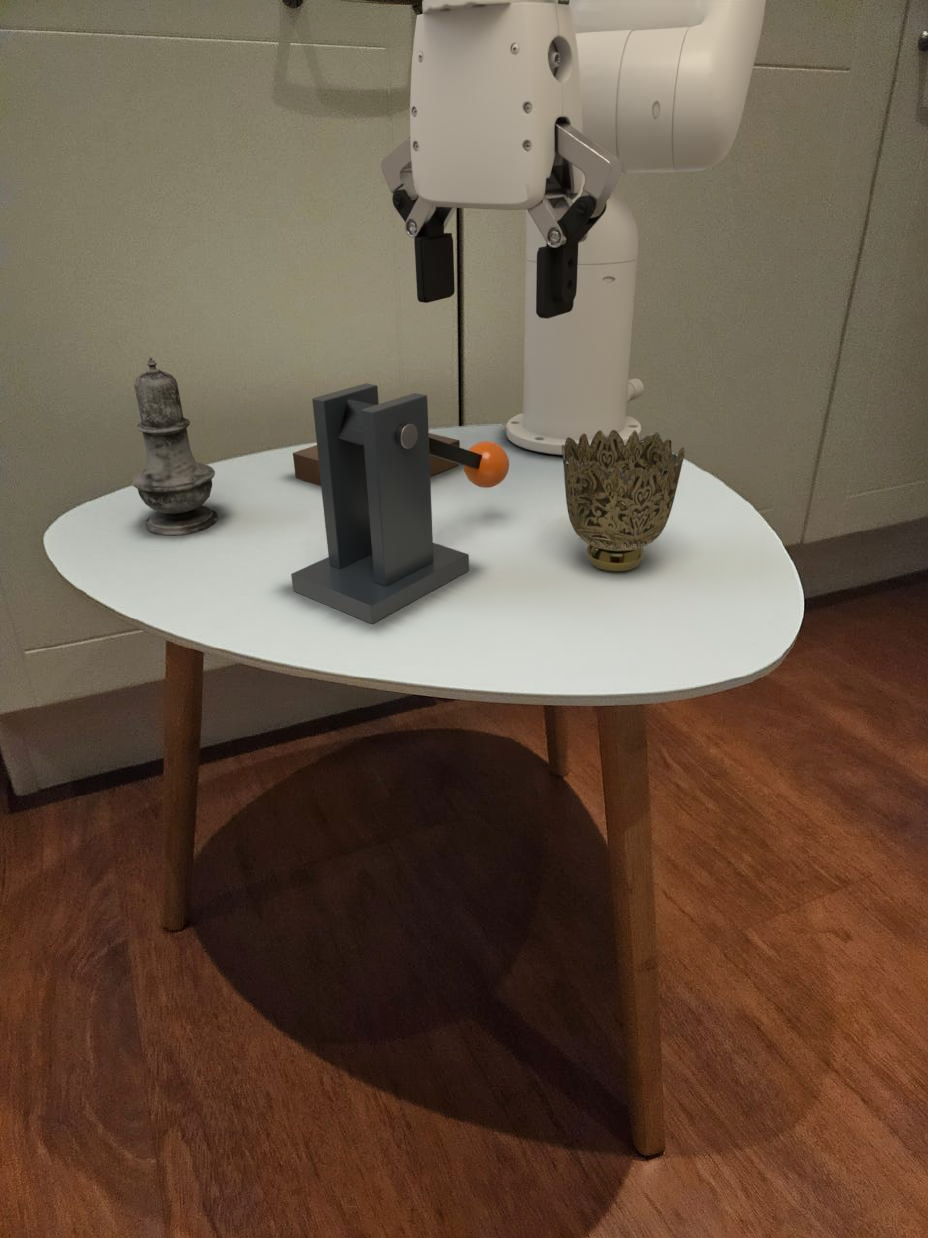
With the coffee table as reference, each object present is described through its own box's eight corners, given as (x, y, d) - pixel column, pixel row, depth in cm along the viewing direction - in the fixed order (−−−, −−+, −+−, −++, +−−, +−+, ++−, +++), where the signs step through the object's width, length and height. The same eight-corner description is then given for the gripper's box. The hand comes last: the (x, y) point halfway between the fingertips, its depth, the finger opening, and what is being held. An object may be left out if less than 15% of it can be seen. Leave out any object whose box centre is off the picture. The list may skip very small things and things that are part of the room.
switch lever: (475, 485, 62) (487, 442, 62) (510, 495, 60) (523, 450, 60) (329, 444, 50) (342, 390, 49) (368, 454, 48) (382, 398, 48)
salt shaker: (200, 539, 61) (168, 368, 55) (125, 534, 62) (87, 366, 56) (235, 508, 66) (210, 349, 60) (165, 504, 67) (134, 347, 61)
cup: (689, 583, 54) (704, 460, 50) (575, 593, 53) (582, 469, 49) (647, 536, 60) (658, 424, 56) (546, 545, 59) (549, 431, 55)
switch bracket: (391, 544, 60) (380, 373, 54) (469, 570, 56) (466, 389, 50) (292, 590, 54) (268, 403, 48) (372, 624, 50) (356, 425, 44)
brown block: (385, 445, 79) (383, 402, 77) (460, 464, 74) (459, 419, 72) (295, 477, 72) (289, 431, 70) (371, 501, 67) (367, 451, 65)
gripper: (665, -34, 44) (639, 310, 53) (418, -1, 54) (430, 286, 63) (587, -49, 39) (573, 333, 48) (330, -10, 49) (357, 303, 58)
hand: (492, 306), depth 55 cm, fingers open, 9 cm apart
